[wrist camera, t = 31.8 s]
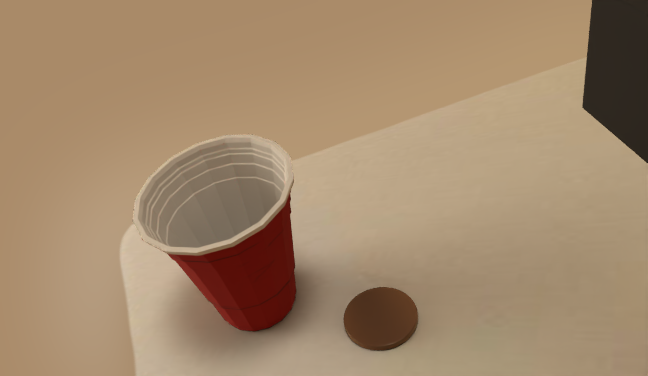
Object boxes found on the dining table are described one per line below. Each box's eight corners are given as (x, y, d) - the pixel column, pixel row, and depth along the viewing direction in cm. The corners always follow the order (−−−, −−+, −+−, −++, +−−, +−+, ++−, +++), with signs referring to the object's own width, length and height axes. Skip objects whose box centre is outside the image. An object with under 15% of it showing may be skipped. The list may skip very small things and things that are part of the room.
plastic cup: (161, 342, 45) (92, 225, 38) (236, 241, 52) (191, 126, 45) (286, 383, 40) (236, 258, 33) (350, 267, 47) (321, 142, 40)
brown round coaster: (379, 280, 46) (378, 276, 45) (433, 314, 42) (432, 310, 42) (329, 324, 43) (328, 320, 43) (383, 364, 40) (382, 359, 40)
